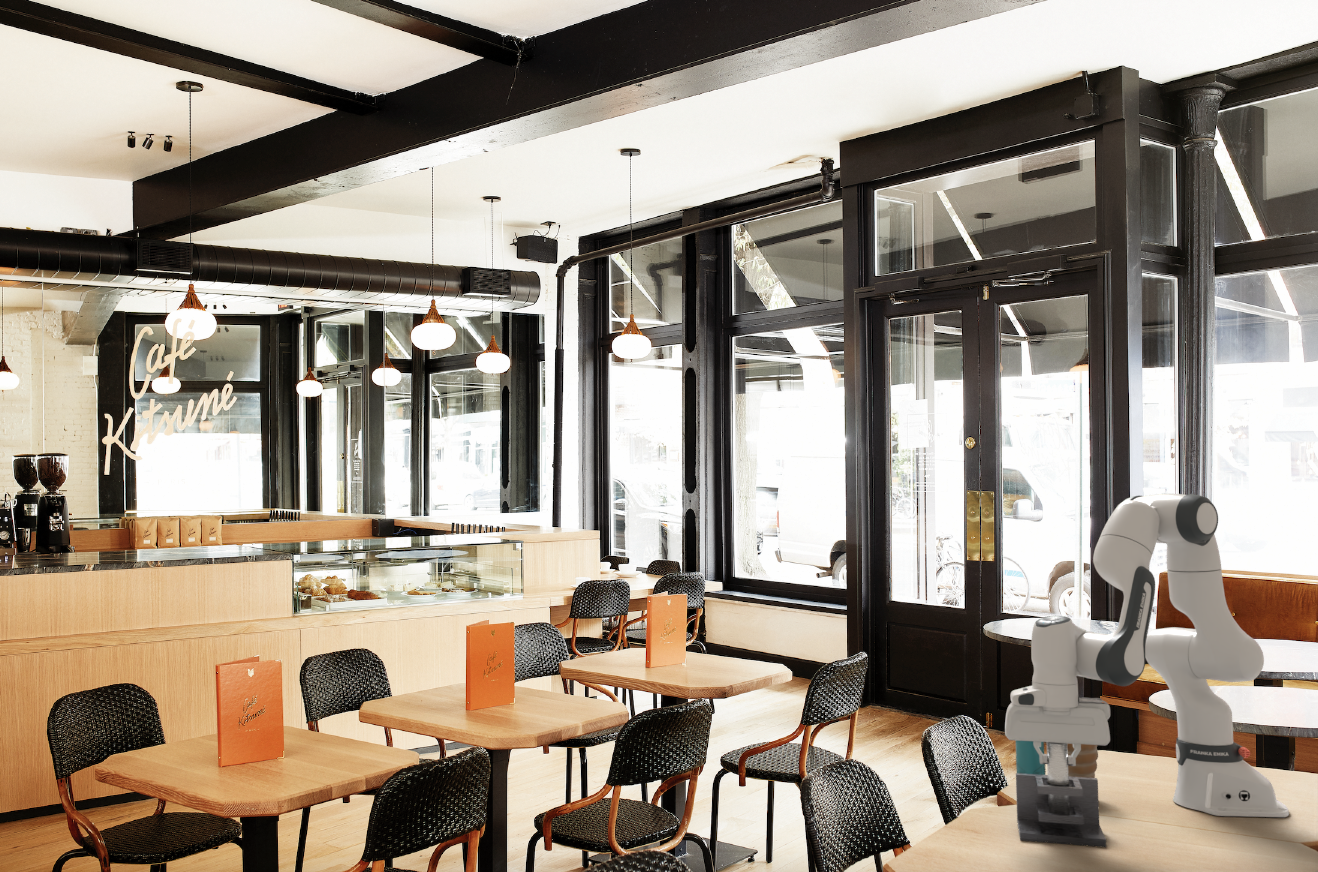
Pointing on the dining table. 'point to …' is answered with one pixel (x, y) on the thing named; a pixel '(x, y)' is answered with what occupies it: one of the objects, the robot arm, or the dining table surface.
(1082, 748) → the cat ice cream
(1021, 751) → the beverage bottle
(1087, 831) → the collar stand
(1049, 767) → the grey cylinder
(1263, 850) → the dining table surface
